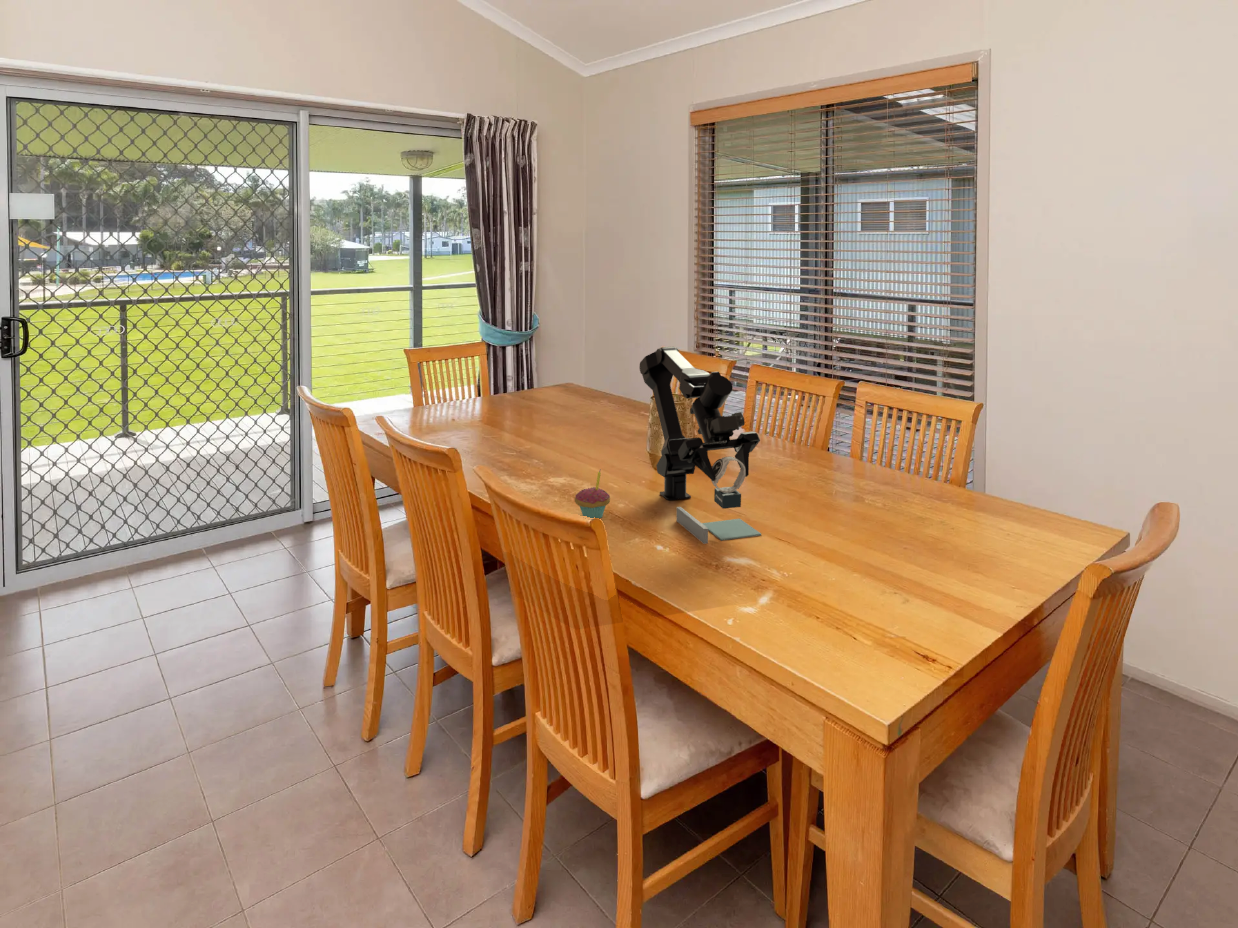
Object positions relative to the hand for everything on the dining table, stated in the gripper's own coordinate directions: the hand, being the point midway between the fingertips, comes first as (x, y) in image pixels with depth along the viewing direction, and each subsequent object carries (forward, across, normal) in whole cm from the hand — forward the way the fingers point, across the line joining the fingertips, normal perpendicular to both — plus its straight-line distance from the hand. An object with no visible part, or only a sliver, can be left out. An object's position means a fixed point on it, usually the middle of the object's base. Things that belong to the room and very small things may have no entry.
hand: (730, 478), depth 187 cm
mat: (+8, +1, +10) cm, 13 cm away
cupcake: (-6, -25, +26) cm, 37 cm away
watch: (+4, 0, +6) cm, 7 cm away
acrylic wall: (+7, -8, +12) cm, 16 cm away
